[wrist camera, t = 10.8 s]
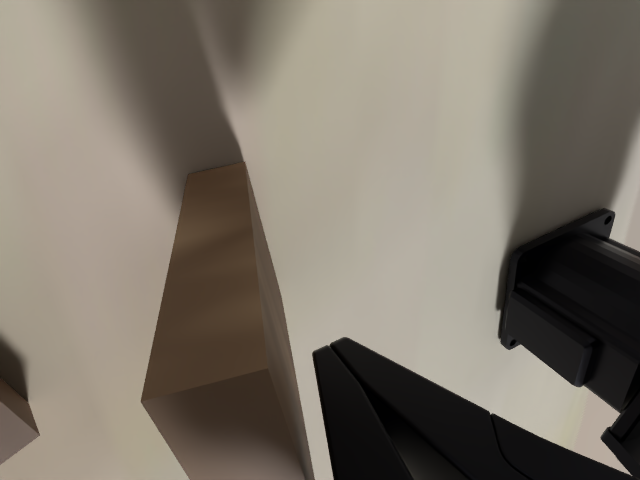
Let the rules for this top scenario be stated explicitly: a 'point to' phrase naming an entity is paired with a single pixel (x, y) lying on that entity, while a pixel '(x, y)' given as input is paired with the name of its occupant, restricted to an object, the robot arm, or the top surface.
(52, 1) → the top surface
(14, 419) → the domino
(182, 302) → the domino
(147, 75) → the top surface
